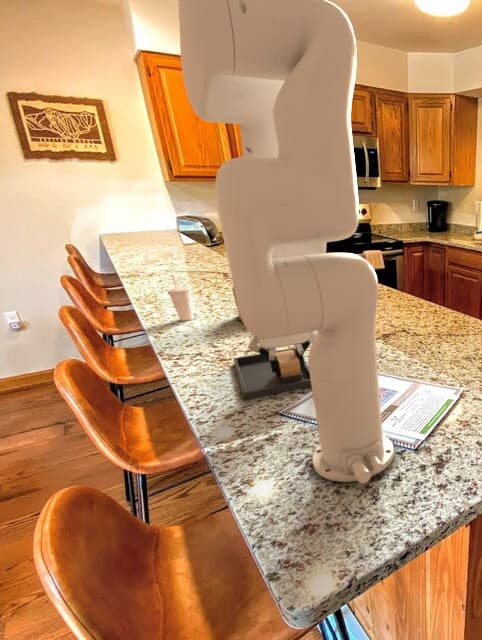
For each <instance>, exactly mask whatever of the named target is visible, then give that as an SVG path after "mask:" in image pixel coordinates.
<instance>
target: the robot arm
mask: <svg viewBox="0 0 482 640" xmlns="http://www.w3.org/2000/svg"><path fill="white" fill-rule="evenodd" d="M178 20H179V49H180V64H181V72H182V78H183V79H182V80H183V84H184V89H185V92H186V96H187V99H188V102H189V104H190V106H191V109H192V110H193V111H194V114H195V115H196V116H197V117H198V118H200V120H202V121H205V122H208V123H216V124H217V123H218V124H219V123H220V124H230V125H231V124H234V125H239V129H240V140H241V149H242V150H241V153H242V157H241V156H239V157H233V158H230V159H227V160H226V161H224V162H223V163H222V164H221V165H220V166H219V168H218V170H217V172H216V174H215V184H214V185H215V189H214V190H215V201H216V203H215V204H216V209H217V213H218V219H219V224H220V229H221V233H222V238H223V242H224V249H225V252H226V253H225V254H226V258H227V261H228V266H229V272H230V277H231V280H232V281H231V282H232V285H233V288H234V291H235V296H236V300H237V304H238V309H239V312H240V315H241V318H242V320H243V323H242V324H243V325H244V327H245V328H246V329H247V331H248V332H249V333H250V334H251V335H253V336H252V337H251V340H250V342H249V344H248V345H247V346H248V349H249V350H250V351H252V352H255V353H257V354H262V355H263V356H265V357H267V358H268V359H269V360H270V364H271V369H272V372H273V373H274V372H275V373H276V375H277V377H280V376H281V374H280V369H279V364H278V359H277V357H276V356H275V351H276V349H277V348H282V347H288V346H293V345H294V348H296V350H295V351H296V352H295V354H296V356H297V357H298V359H299V362H300V368H301V372H303V369H302V367H305V364H304V361H305V360H304V354H305V352H306V350H307V349H308V348H309V347H310V348H309V351H308V357H307V366H308V367H309V373H310V379H311V386H312V387H311V393H312V398H313V405H314V412H315V417H316V424H317V425H316V426H317V431H318V437H319V445H318V446H317V447H316V448H315V449H314V451H313V453H312V457H311V459H312V460H311V461H312V466H313V469H314V471H315V472H316V473H317V474H318V475H319V476H320V477H322V478H324V479H327V480H330V481H334V482H340V483H341V482H342V483H350V482H358V483H360V484H365V483H368V482H369V481H370V480H371V478H372V477H375V476H376V475H378V474H380V473H381V472H383V471H384V470H386V469H387V468H388V467H389V465H391V463H392V461H393V460H394V457H395V448H394V444H393V442H392V440H390V439H389V438H388V437H387V436H386V435H383V433H384V432H383V422H382V411H381V398H380V386H379V376H378V375H379V373H378V372H379V371H378V357H377V343H376V341H377V339H376V325H377V313H378V303H379V292H380V291H379V290H380V289H379V281H378V276H377V273H376V271H375V268H374V267H373V265H372V264H371V263H370V262H369V261H368V260H367V259H366V258H364V257H362V256H361V255H358V254H355V253H351V252H327V243H332V242H338V241H343V240H346V239H349V238H351V237H352V236H353V235H354V234H355V233H356V231H357V229H358V227H359V219H360V206H359V194H358V193H359V192H358V191H359V190H358V182H357V171H356V161H355V152H354V140H353V132H352V116H351V114H352V103H353V96H354V91H355V90H354V89H355V84H356V83H355V82H356V75H357V64H358V63H357V62H358V58H357V57H358V56H357V54H358V53H357V41H356V37H355V33H354V29H353V26H352V23H351V21H350V19H349V17H348V15H347V14H346V13H345V12H344V10H343V9H342V8H341V7H339V6H338V5H337V4H335V3H333V2H331V1H329V0H178ZM316 331H317V332H316ZM315 332H316V334H315Z"/></svg>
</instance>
